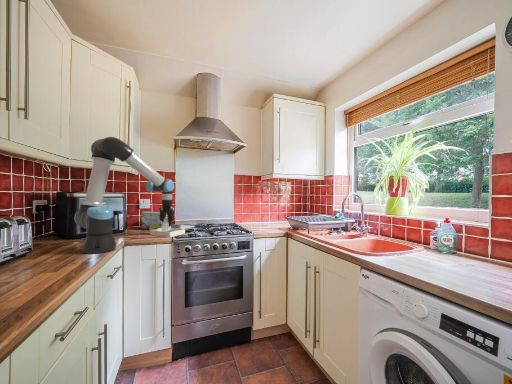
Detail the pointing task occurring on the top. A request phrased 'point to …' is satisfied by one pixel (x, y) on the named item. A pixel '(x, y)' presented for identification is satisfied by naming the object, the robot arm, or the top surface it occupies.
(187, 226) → the mailer lid
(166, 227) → the pepper shaker
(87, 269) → the top surface
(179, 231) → the mailer box
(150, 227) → the snack box
